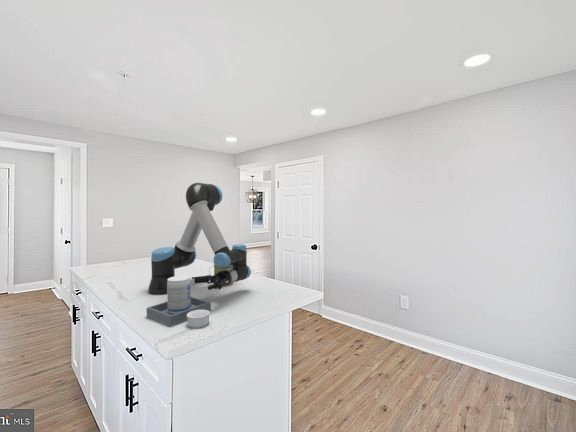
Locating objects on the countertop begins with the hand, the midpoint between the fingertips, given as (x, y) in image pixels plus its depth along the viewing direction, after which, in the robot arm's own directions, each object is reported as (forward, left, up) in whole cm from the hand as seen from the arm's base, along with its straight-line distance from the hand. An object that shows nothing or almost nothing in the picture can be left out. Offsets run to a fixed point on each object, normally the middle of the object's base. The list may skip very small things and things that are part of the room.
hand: (191, 286), depth 126 cm
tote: (0, -6, -10) cm, 12 cm away
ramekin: (+15, -8, -11) cm, 20 cm away
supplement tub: (-1, -6, -10) cm, 11 cm away
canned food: (-19, +38, -11) cm, 44 cm away
